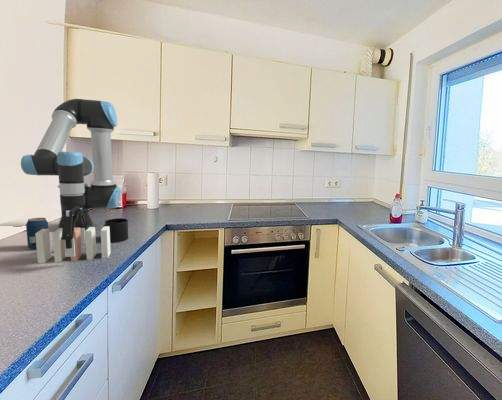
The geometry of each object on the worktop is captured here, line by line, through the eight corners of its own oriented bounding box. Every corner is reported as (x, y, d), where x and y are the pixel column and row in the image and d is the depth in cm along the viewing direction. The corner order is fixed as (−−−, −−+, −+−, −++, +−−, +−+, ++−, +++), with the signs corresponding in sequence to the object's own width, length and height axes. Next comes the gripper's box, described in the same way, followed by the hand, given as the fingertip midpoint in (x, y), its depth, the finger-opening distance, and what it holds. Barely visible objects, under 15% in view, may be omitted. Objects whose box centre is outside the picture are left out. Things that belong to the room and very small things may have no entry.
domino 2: (54, 262, 93) (52, 232, 91) (60, 256, 99) (58, 228, 97) (61, 261, 94) (59, 232, 92) (66, 255, 99) (64, 228, 97)
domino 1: (38, 263, 91) (35, 233, 90) (44, 257, 97) (42, 228, 95) (44, 262, 92) (42, 233, 90) (51, 256, 98) (49, 228, 96)
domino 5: (101, 258, 98) (100, 230, 96) (104, 252, 104) (103, 226, 102) (107, 258, 99) (106, 230, 97) (110, 252, 104) (109, 226, 103)
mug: (110, 235, 126) (109, 217, 125) (132, 237, 124) (132, 219, 123) (95, 240, 117) (94, 221, 116) (119, 243, 115) (118, 223, 114)
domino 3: (71, 260, 95) (69, 232, 93) (75, 255, 100) (74, 227, 98) (77, 260, 95) (75, 231, 94) (81, 254, 101) (80, 227, 99)
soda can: (36, 244, 109) (33, 217, 107) (53, 244, 110) (51, 217, 108) (23, 250, 102) (20, 221, 100) (42, 250, 103) (39, 221, 101)
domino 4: (86, 259, 96) (85, 231, 95) (90, 253, 102) (89, 227, 100) (92, 259, 97) (91, 231, 95) (96, 253, 103) (95, 226, 101)
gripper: (71, 190, 104) (74, 240, 108) (46, 200, 81) (51, 263, 84) (92, 190, 107) (95, 239, 110) (74, 199, 84) (78, 261, 87)
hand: (76, 249), depth 97 cm, fingers open, 13 cm apart
